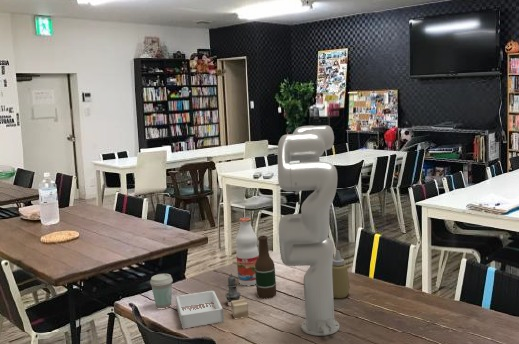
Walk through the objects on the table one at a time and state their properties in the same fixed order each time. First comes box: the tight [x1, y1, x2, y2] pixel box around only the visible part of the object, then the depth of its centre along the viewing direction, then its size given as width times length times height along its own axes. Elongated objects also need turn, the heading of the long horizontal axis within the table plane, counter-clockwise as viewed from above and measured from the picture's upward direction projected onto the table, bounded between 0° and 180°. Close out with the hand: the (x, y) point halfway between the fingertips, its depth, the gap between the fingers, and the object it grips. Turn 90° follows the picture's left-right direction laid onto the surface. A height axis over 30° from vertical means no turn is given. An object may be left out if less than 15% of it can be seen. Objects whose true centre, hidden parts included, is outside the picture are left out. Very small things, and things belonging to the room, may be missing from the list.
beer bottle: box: [255, 235, 277, 300], centre depth 209 cm, size 8×8×24 cm
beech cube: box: [230, 298, 249, 319], centre depth 193 cm, size 5×5×5 cm
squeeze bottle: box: [332, 249, 351, 299], centre depth 204 cm, size 8×8×18 cm
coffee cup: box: [149, 273, 174, 309], centre depth 205 cm, size 8×8×12 cm
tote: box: [175, 289, 225, 328], centre depth 195 cm, size 20×15×5 cm
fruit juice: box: [235, 216, 259, 286], centre depth 225 cm, size 9×9×28 cm
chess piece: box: [224, 273, 242, 302], centre depth 204 cm, size 6×6×12 cm
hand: (311, 203), depth 203 cm, fingers open, 9 cm apart
